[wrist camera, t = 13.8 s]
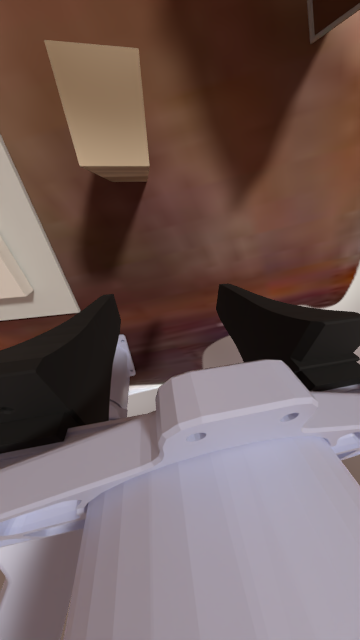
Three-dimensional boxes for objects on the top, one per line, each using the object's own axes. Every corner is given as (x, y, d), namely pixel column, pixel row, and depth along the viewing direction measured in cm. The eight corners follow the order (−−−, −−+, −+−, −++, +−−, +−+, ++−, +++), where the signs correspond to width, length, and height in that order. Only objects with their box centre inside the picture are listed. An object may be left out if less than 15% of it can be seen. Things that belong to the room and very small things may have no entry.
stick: (147, 181, 15) (149, 166, 8) (112, 181, 14) (79, 166, 7) (141, 131, 13) (138, 48, 6) (101, 130, 12) (43, 39, 5)
